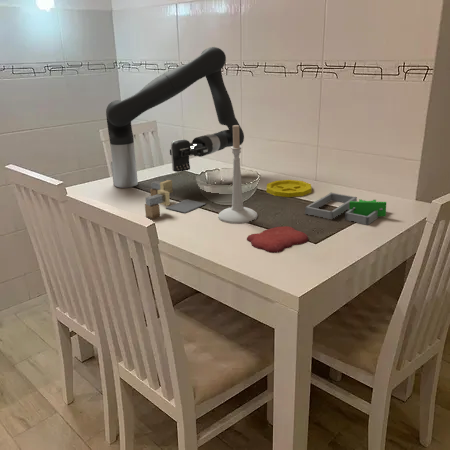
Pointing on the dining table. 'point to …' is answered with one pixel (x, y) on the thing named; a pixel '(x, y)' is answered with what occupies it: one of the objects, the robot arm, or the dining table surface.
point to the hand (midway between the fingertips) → (176, 153)
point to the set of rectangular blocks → (158, 198)
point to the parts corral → (339, 209)
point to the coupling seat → (185, 206)
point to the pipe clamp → (368, 207)
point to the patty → (277, 239)
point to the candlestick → (237, 190)
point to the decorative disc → (288, 188)
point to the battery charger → (177, 160)
